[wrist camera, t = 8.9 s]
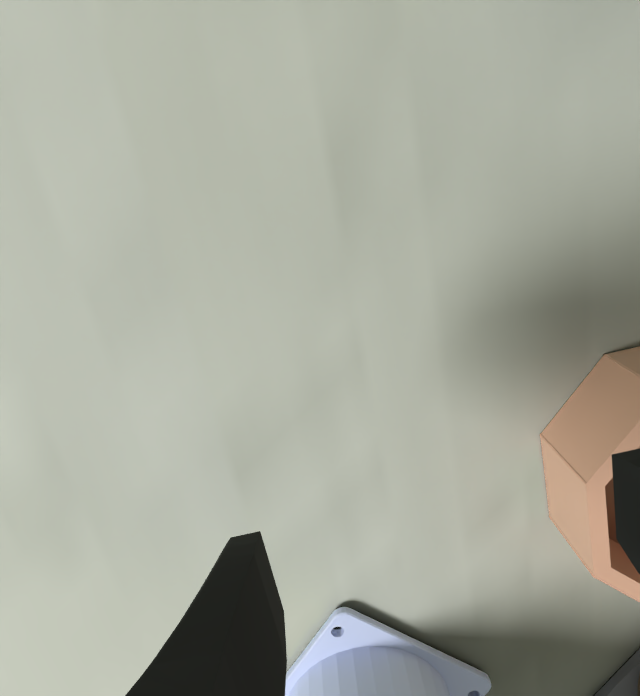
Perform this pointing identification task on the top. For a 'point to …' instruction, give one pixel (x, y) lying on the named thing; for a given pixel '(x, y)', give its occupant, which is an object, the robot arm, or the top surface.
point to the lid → (639, 686)
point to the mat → (624, 679)
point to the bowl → (594, 465)
